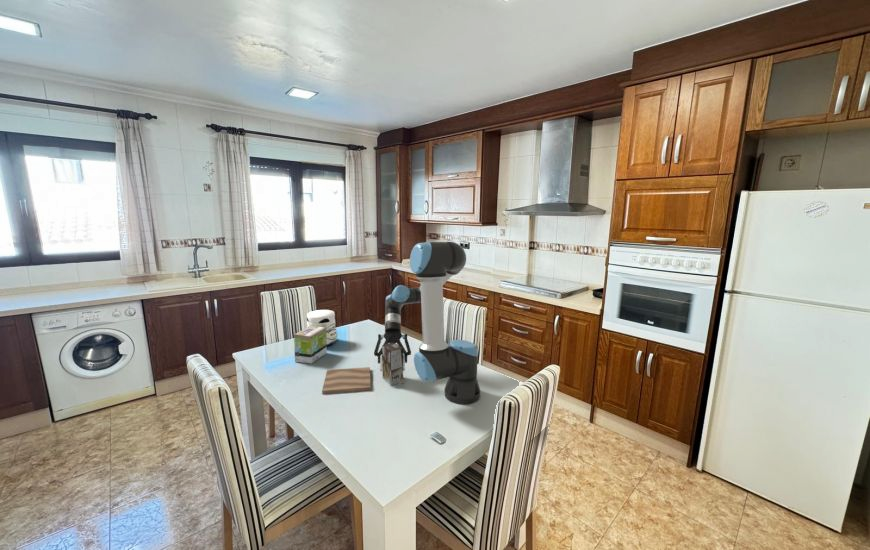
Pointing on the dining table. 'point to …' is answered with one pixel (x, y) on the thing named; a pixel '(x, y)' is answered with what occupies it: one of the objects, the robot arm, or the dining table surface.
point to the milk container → (324, 323)
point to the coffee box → (392, 363)
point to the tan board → (347, 380)
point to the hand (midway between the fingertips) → (392, 369)
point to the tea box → (310, 344)
